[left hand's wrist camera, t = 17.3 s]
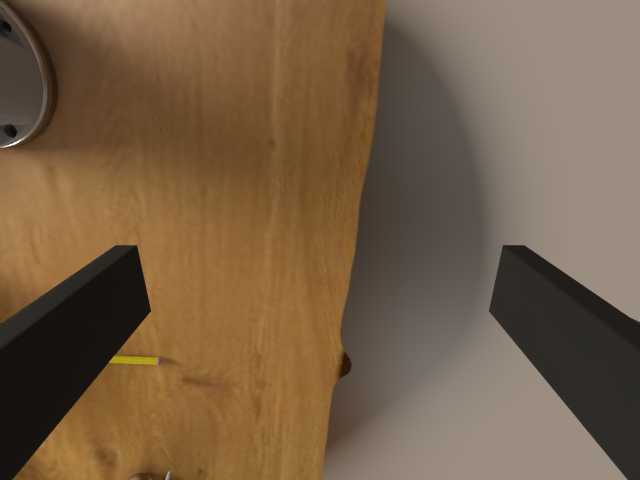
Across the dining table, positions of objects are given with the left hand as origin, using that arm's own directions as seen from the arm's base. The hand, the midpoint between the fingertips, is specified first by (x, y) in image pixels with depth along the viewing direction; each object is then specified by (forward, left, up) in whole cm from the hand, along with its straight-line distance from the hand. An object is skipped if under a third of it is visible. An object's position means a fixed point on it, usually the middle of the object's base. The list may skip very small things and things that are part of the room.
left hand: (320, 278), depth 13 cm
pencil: (-34, +23, -28) cm, 50 cm away
